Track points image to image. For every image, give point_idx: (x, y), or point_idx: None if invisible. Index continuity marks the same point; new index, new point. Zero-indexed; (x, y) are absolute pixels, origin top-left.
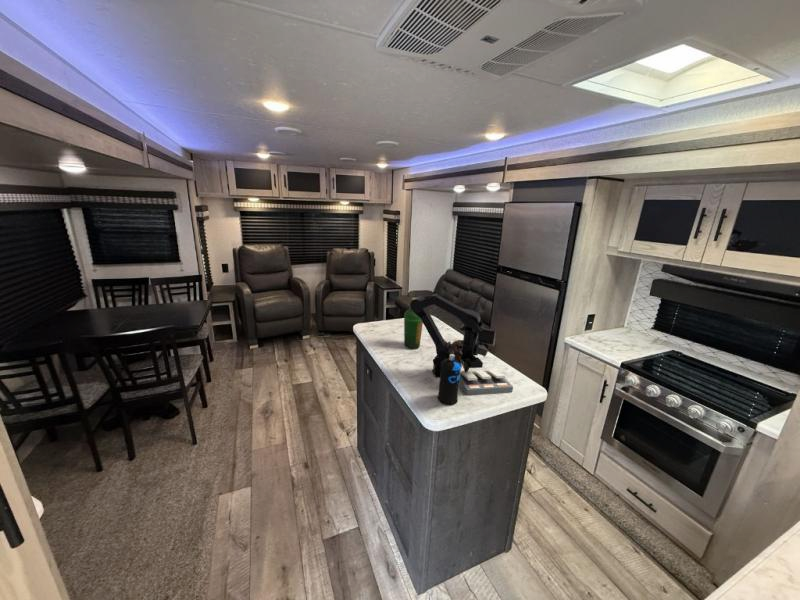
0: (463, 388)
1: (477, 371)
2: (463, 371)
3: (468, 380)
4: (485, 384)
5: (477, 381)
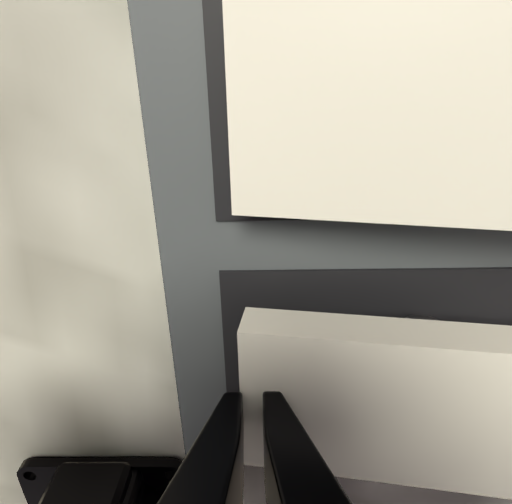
0: None
1: (278, 171)
2: (261, 446)
3: None
4: None
5: (510, 245)
